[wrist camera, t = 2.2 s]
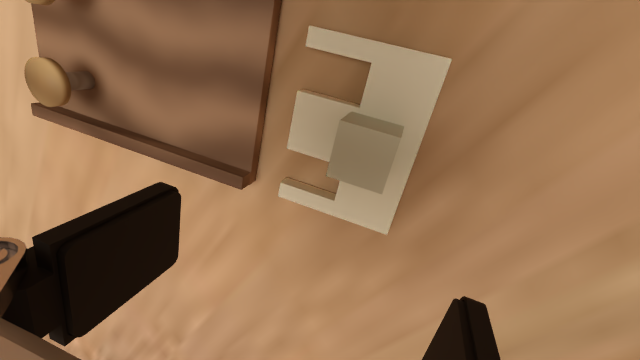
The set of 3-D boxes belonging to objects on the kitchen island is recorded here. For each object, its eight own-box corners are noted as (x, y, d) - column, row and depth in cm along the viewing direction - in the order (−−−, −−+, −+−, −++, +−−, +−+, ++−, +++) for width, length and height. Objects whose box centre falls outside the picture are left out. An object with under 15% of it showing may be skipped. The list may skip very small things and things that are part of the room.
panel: (315, 27, 23) (288, 18, 19) (450, 59, 21) (458, 58, 17) (284, 190, 29) (257, 215, 24) (388, 227, 27) (381, 261, 23)
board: (32, -93, 27) (-50, -125, 22) (287, -44, 22) (252, -71, 18) (59, 112, 34) (2, 120, 29) (255, 180, 30) (224, 202, 25)
